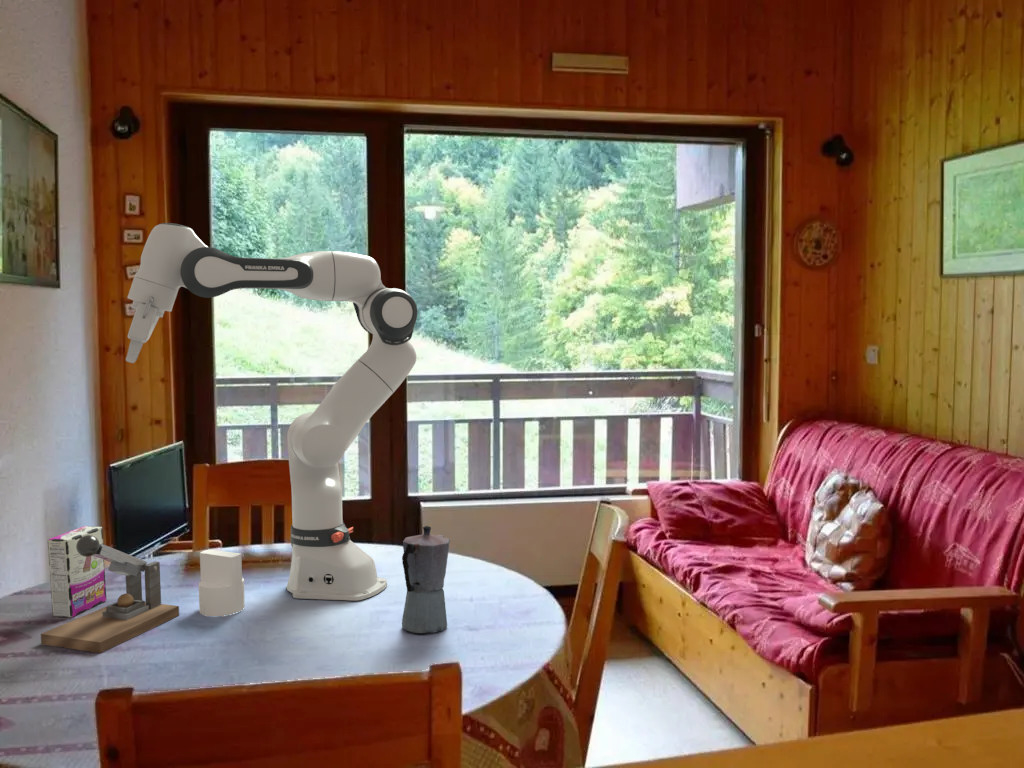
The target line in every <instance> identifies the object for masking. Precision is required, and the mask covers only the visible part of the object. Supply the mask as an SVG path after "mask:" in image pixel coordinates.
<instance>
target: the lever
mask: <svg viewBox="0 0 1024 768" xmlns="http://www.w3.org/2000/svg"><path fill="white" fill-rule="evenodd" d="M76 549H77V552H78V553H79V554H80V555H82V556H84V557H90V556H96V557H98V558H101V559H103V560H104V561H107V562H109V563H110V564H109V567H108V569H107V571H109V572H112V573H114V574H117V575H119V576H125V577H126V576H135V577H136V576H137V573H138V571H141V573H142V572H144V573H145V571H144V565H147V564H148V561H146V560H143V559H140V558H138V557H136V556H134V555H131V554H128V553H126V552H123V551H121V550H118V549H116V548H113V547H111V546H108V545H106V544H104V543H103V544H100V543H99V540H98V539H97V538H96V537H94V536H91V535H86V536H83V537H82V538H80V539H79V540H78V542H77V544H76Z"/></svg>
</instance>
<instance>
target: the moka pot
mask: <svg viewBox="0 0 1024 768" xmlns="http://www.w3.org/2000/svg"><path fill="white" fill-rule="evenodd" d="M422 528H423V534H417V535H412V536H407V537H405V538H404V540H403V541H402V548H403V553H402V557H401V560H402V566H403V573H404V579H405V586H406V596H405V602H404V606H403V607H404V608H403V614H402V618H401V627H402V629H403V630H404V631H407V632H410V633H414V634H431V633H438V632H441V631H444V630H445V629H446V628H447V627H448V620H447V619H448V618H447V609H446V599H445V590H444V586H445V578H446V572H447V565H448V556H449V549H450V541H451V540H450V538H449V537H448V538H447V537H445V536H444V535H443V534H430V533H431V529H432V527H431V526H428V525H426V526H423V527H422Z"/></svg>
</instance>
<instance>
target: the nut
mask: <svg viewBox="0 0 1024 768" xmlns="http://www.w3.org/2000/svg"><path fill="white" fill-rule="evenodd" d="M116 602H117V603H118V606H119V607H124V608H127V607H129V606H132V605H133V603H134V599H133V597H132V595H130V594H126V593H123V594H121V595H120V596H119V597H118V598H117V601H116Z"/></svg>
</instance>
